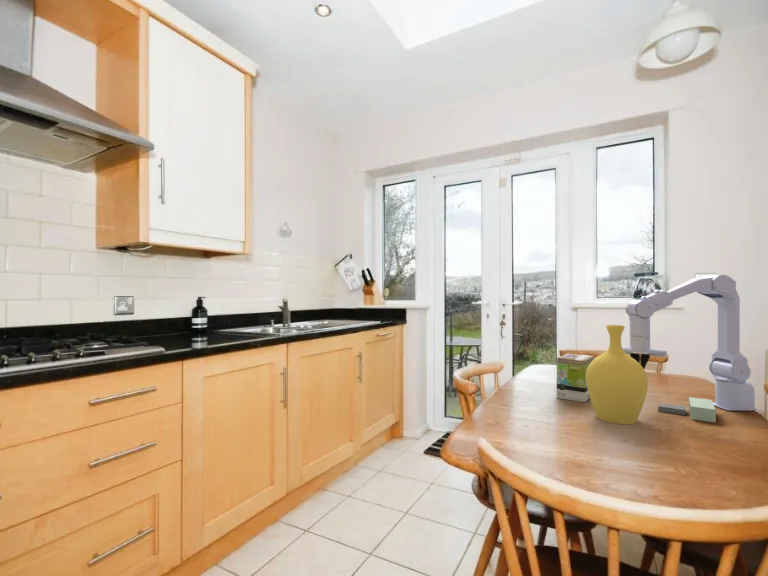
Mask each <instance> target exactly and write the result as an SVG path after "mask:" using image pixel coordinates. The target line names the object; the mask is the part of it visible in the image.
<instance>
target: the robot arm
mask: <svg viewBox="0 0 768 576" xmlns="http://www.w3.org/2000/svg"><path fill="white" fill-rule="evenodd" d="M692 293H697V294H698V295H702V296H703V297H707V298H709V299H711V300H712V301H713V302H715V303H716V304H717V350H716V351H714V352H713V353H712V354H711V360H710V363H709V364H708V369H709V372H710V373H711V375H713V378H714V385H715V386H714V390H715V391H714V392H715V397H714V398H715V401H712V402H713V404H714V407H717V408H720V409H723V410H726V411H753V410H754V411H758V409H757V408H755V407H756V403H755V401H756V400H755V399H756V397H755V396H756V395H755V388H754V386H753V384H752V383H751V382H749V381H747V380H749V379H750V377H751V374H752V371H751V370H752V369H751V368H750V366H749V364H748V361H749V360H748V358H747V357H746V356H745V355H743V353H741V351H740V350H741V349H740V346H741V345H740V341H741V335H740V330H741V325H740V324H741V323H740V322H741V316H740V315H741V310H740V307H741V306H740V303H741V298H740V296H739V293H738V291H737V281H736V280H735V279H733V278H732V277H730V276H729V275H728V274H719V275H700V276H696V277H695V278H691V279H690V280H688V281H686V282H684V283H682V284H680V285H677V286H675V287H673V288H671V289H669V290H668V291H667V290H664V289H655V290H653V293H651V294H647V295H646V296H645V295H643V296H641V297H640V298H639V300H638V299H636V300H631V301H629V302H628V304H627V306H626V307H625V313H626V314H627V316H628V320H629V347H622V349H623V351H624V352H625V353H626V354H627V355H629V356H630V357H632V358H633V359H635V360H636V361H637V362H638V363H639V364H640V365H641V366H642V367H643V369H644V370H645V369H646V366H647V364H648V362H649V360H650V358H651V357H658V358H659V357H660V358H661V357H662V358H667V357H668V351H667V350H660V349H651V317H652V316H653V315H654V314H655V313H656V312H658V311H660V310H663V309H666V308H668V307H670V306H672V305H673V303H674V301H675V300H678V299H680V298H682V297H684V296H685V297H686V296H688V295H691V294H692ZM748 407H749V408H750V409H752V410H750V409H749V408H748Z"/></svg>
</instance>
